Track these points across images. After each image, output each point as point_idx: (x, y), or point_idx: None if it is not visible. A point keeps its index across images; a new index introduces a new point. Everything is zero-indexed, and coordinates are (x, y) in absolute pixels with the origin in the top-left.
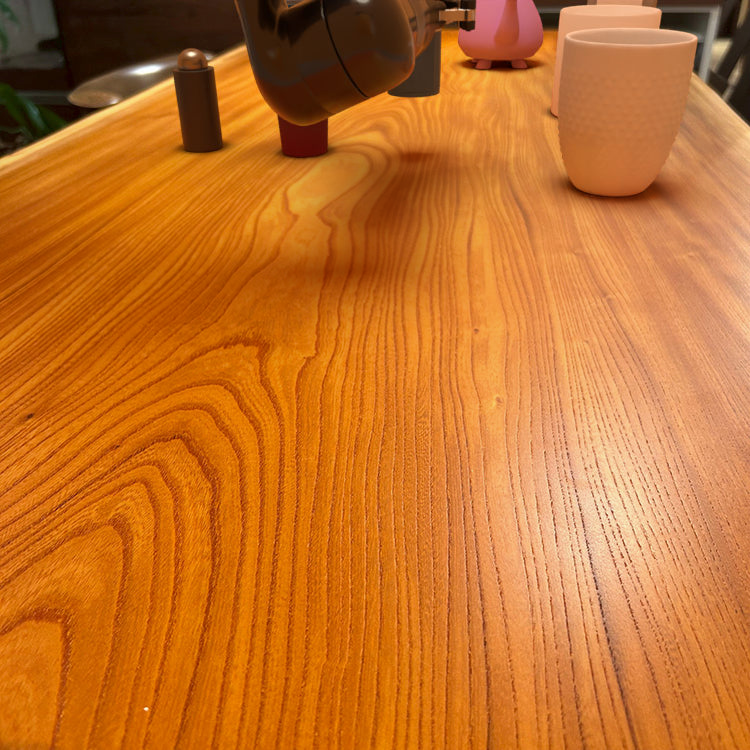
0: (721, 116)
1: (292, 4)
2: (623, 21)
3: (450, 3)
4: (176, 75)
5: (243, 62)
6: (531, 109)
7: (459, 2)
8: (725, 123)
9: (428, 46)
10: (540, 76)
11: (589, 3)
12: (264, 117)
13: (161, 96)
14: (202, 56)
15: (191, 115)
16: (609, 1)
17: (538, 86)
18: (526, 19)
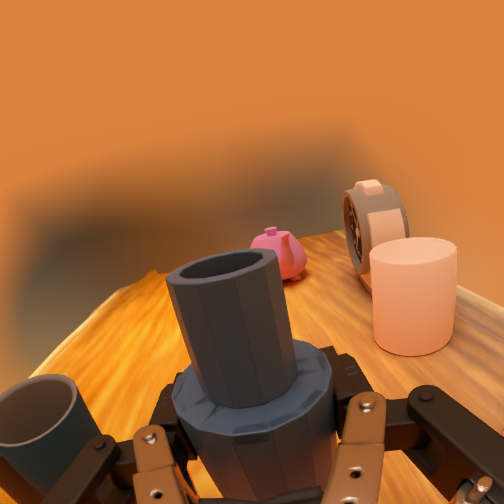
0: (484, 303)
1: (3, 446)
2: (447, 262)
3: (388, 430)
4: None
5: (108, 312)
6: (356, 344)
7: (485, 492)
8: (497, 311)
9: (323, 490)
10: (319, 286)
11: (364, 238)
12: (101, 420)
13: (43, 374)
14: None
15: (10, 495)
16: (381, 235)
17: (329, 301)
18: (295, 249)
